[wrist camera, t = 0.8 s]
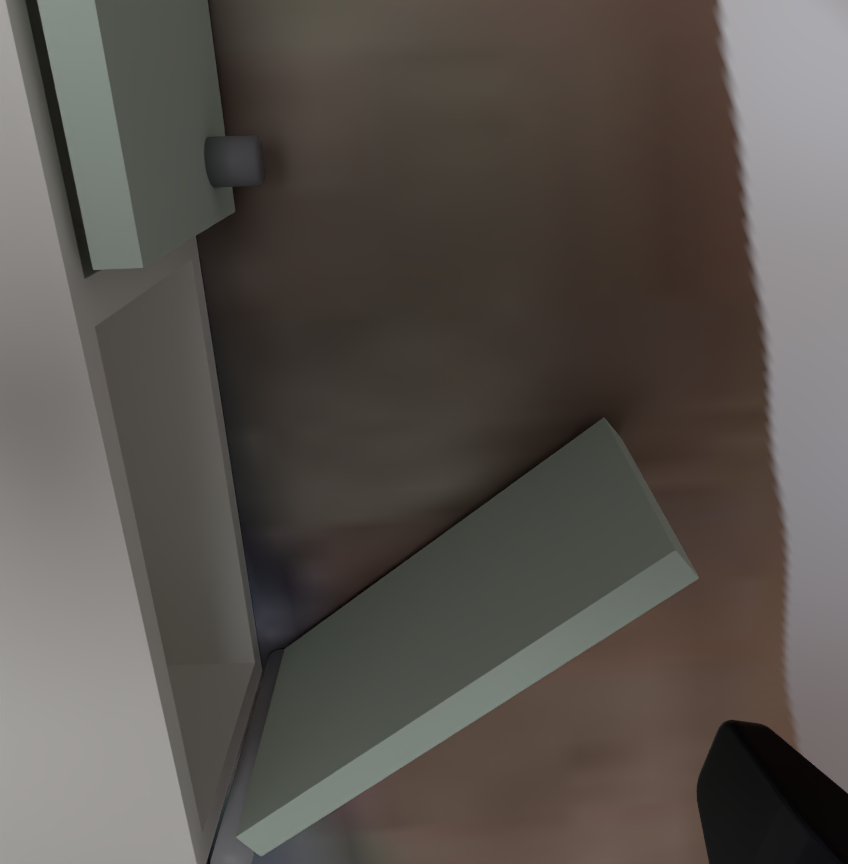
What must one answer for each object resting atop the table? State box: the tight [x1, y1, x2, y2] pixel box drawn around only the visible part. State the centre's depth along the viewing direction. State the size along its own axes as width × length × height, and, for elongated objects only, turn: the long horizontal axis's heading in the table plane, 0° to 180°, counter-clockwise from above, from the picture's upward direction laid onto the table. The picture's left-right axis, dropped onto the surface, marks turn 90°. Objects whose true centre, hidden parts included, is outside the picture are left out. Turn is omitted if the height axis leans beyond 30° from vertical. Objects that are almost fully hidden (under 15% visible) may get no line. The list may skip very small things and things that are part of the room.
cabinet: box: [0, 0, 264, 864], centre depth 16 cm, size 26×8×7 cm, turn 2°
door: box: [210, 418, 699, 864], centre depth 19 cm, size 12×2×7 cm, turn 130°
